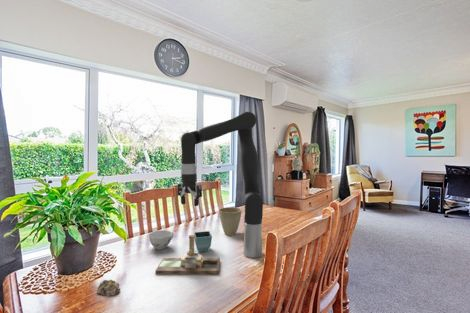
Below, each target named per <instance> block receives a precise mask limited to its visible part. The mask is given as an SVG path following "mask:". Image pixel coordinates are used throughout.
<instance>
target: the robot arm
mask: <svg viewBox="0 0 470 313" xmlns="http://www.w3.org/2000/svg"><path fill="white" fill-rule="evenodd" d="M256 124H257V117H256V115H255V114H254V113H253V112H250V111H244V112H241V113H240V114H239V115H237V116H235V117H232V118H231V119H228V120H225V121H221V122H218V123H213V124H209V125H207V126H204V127H201V128H199V129H197V130H193V131H190V132H189V131H188V132H184V133H183V134H182V135H181V138H180V144H181V159H180V160H181V163H180V164H181V166H180V167H181V168H180V170H181V171H180V175H181V178H180V179H181V183H177V190H176V191H177V193H176V194H177V196H179V197H180V203H181V205H185V204H186V194H190V195H192V196H193V198H194V199H193V204H194V207H198V206H199V204H200V202H199V201H200V198H202V197H203V190H202V189H203V188H202V184H197V181H198V180H197V179H198V178H197V163H196V162H197V160H196V159H197V157H196V145H198V144H201V143H203V142H208V141H211V140H215V139H218V138H219V137H222V136H225V135H226V134H230V133H232V132H233V133H234V132H236V131H237V134H238V135H237V136H238V139H239V156H240V157H239V158H240V166H241V173H242V177H243V182H244V199H243V200H244V217H243V218H244V220H243V221H244V223H243V228H244V229H243V255H244V256H245V257H246V258H251V259H256V258H261V257H262V256H263V236H262V235H263V234H262V232H263V231H262V230H263V229H262V226H263V224H262V222H263V218H264V217H263V214H264V213H263V212H264V200H263V197H262V196H261V192H260V188H259V168H260V167H259V155H258V151H257V148H256V146H255V143H254V138H253V128H254V127H255V126H256Z"/></svg>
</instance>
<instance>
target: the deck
mask: <svg viewBox="0 0 470 313" xmlns="http://www.w3.org/2000/svg"><path fill="white" fill-rule="evenodd" d="M186 255H189V250H187V252H186ZM194 255H199V252H198V250H194ZM196 257H197V256H185V266H181V258H182V257H163V258H162V259H161V261H160V263H159V264H158V266H157V267H156V269H155V273H154V274H155V275H220V274H219V273H220V263H221V259H220V257H217V258H215V257H202V262H201V266H196Z"/></svg>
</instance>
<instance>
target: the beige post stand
mask: <svg viewBox="0 0 470 313" xmlns="http://www.w3.org/2000/svg"><path fill="white" fill-rule="evenodd" d="M194 237H195V235H194V234H189V236H188V241H189V242H188V251H189V255H187V254H182V256H181V257H180V258H181V266H185V256H197V257H196V266H201V262H202V258H203V254H198V255H194V251H195V238H194Z"/></svg>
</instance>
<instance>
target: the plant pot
mask: <svg viewBox="0 0 470 313" xmlns="http://www.w3.org/2000/svg"><path fill="white" fill-rule="evenodd" d="M242 211H243V209H241V208H240V207H233V206H232V207H231V206H229V207H228V206H227V207H222V208H219V209H218V213H219V219H220V223H221V228H222V230H223V233H224V235H225V236H230V237H231V236H235V235H236V234H237V232H238V230H239V226H240V223H241V217H242Z"/></svg>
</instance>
